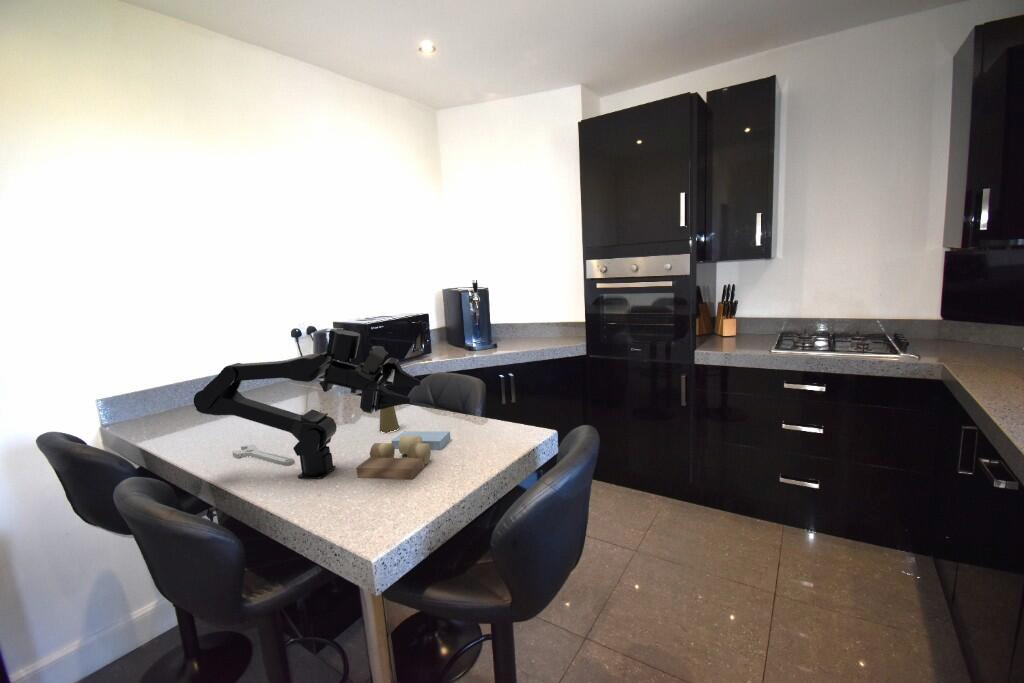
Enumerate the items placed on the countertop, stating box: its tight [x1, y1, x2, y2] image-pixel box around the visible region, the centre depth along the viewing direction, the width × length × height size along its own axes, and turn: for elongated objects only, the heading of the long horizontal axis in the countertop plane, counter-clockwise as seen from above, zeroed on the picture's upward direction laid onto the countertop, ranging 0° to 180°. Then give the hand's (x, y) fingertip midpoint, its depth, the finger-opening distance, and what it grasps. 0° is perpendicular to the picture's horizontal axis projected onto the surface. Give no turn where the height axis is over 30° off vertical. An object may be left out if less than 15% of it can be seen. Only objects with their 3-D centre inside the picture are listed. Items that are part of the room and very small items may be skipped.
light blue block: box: [391, 430, 451, 455], centre depth 124 cm, size 14×13×5 cm
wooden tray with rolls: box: [356, 442, 432, 480], centre depth 111 cm, size 14×11×5 cm
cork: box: [379, 406, 400, 432], centre depth 141 cm, size 6×6×11 cm
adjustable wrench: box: [232, 444, 296, 467], centre depth 124 cm, size 25×6×2 cm, turn 55°
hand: (415, 391), depth 109 cm, fingers open, 9 cm apart
